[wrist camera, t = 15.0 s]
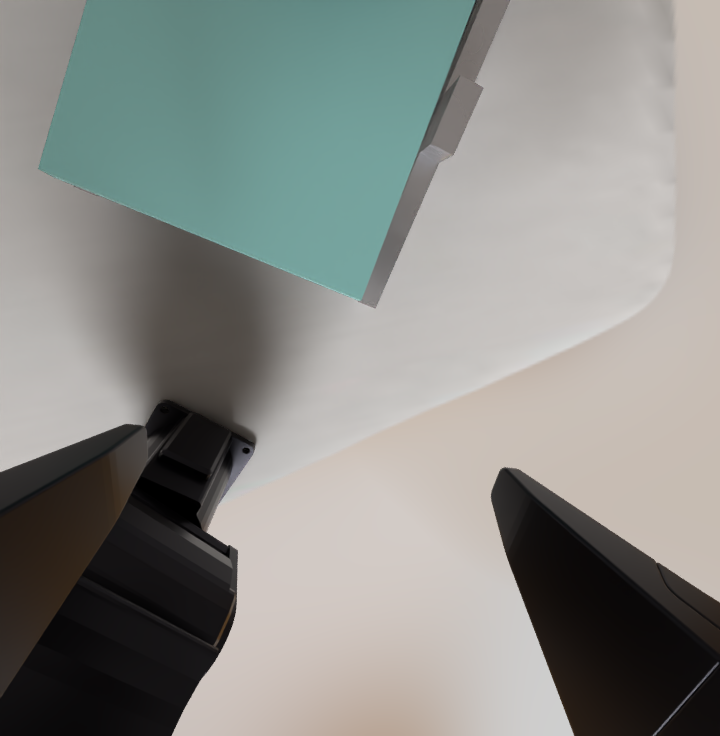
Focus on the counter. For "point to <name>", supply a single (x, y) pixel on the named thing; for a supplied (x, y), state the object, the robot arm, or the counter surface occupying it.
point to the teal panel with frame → (438, 135)
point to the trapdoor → (257, 120)
